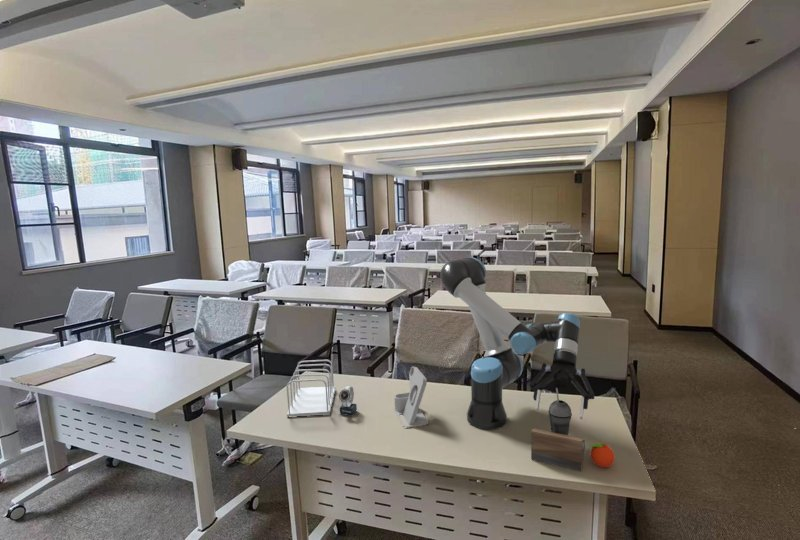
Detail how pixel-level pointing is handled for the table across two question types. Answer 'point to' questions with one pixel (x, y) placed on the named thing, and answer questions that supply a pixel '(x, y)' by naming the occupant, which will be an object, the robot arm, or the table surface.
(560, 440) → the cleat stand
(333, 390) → the file sorter
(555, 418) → the beverage cup
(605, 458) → the clementine
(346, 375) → the table surface
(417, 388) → the phone holder
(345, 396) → the webcam
